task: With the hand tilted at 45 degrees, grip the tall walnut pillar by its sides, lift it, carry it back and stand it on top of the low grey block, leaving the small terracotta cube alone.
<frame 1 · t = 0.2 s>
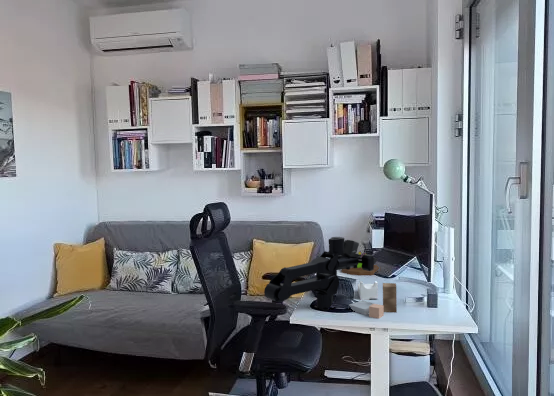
hand: (368, 257, 201), 17 cm above the table, tool horizontal, fingers open, 9 cm apart
walnut pillar: (389, 310, 182), on the table
bracket: (367, 296, 202), on the table
grey base block: (363, 311, 183), on the table
plant: (360, 271, 246), on the table
terracotta cube: (376, 316, 176), on the table
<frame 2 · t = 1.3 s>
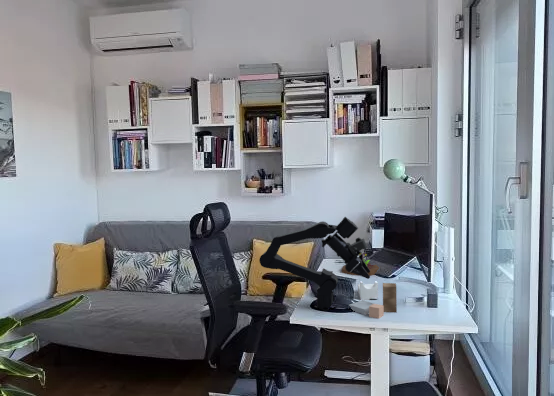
hand: (369, 274, 183), 14 cm above the table, tool tilted 45°, fingers open, 9 cm apart
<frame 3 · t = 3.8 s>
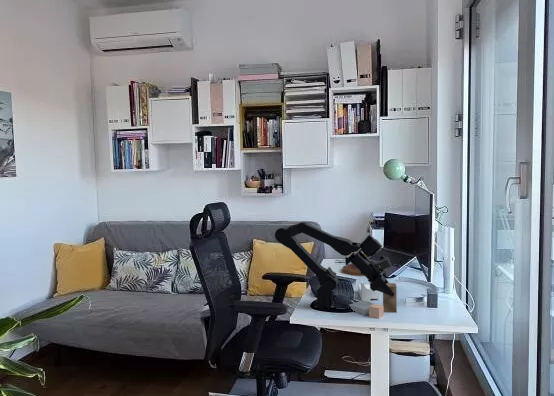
hand: (393, 293, 181), 7 cm above the table, tool tilted 45°, fingers closed on walnut pillar, 5 cm apart
walnut pillar: (389, 310, 182), on the table, touching gripper
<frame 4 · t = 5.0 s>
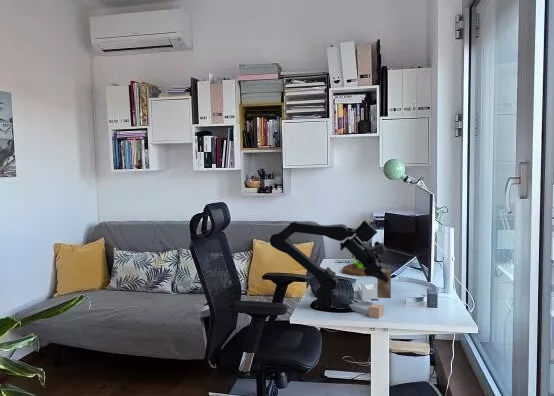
hand: (387, 279, 181), 12 cm above the table, tool tilted 45°, fingers closed on walnut pillar, 5 cm apart
walnut pillar: (383, 296, 182), point 6 cm above the table, touching gripper
when the fingers open (10 cm above the table, at t = 6.5 s): walnut pillar stays where it is, resting on grey base block.
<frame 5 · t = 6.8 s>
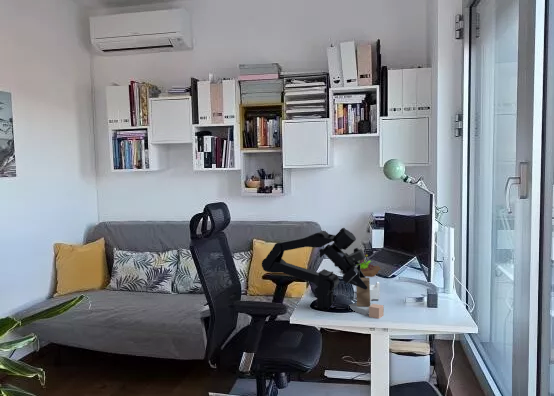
hand: (367, 285, 182), 10 cm above the table, tool tilted 45°, fingers open, 8 cm apart
walnut pillar: (363, 304, 183), point 2 cm above the table, touching grey base block
grey base block: (363, 311, 183), on the table, touching walnut pillar
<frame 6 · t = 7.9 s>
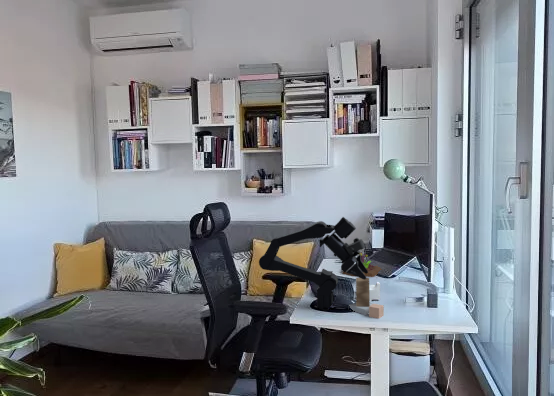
hand: (366, 275, 182), 14 cm above the table, tool tilted 45°, fingers open, 9 cm apart
walnut pillar: (362, 304, 183), point 2 cm above the table
grey base block: (363, 311, 183), on the table
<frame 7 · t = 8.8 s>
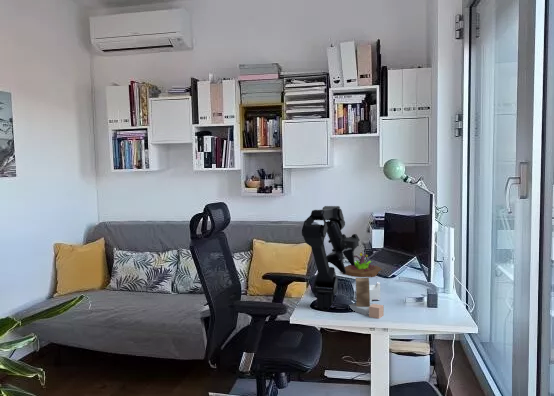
hand: (349, 269, 197), 13 cm above the table, tool tilted 20°, fingers open, 9 cm apart
walnut pillar: (362, 304, 183), point 2 cm above the table, touching grey base block
grey base block: (363, 311, 183), on the table, touching walnut pillar
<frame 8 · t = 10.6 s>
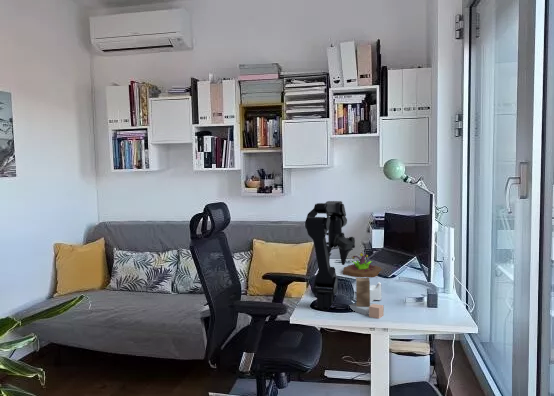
hand: (335, 266, 201), 13 cm above the table, tool pointing down, fingers open, 9 cm apart
at the end: walnut pillar 0.3 cm off-centre on the grey base block, point 2.5 cm above the grey base block's base; walnut pillar tilted 1°; the gripper is holding nothing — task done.
